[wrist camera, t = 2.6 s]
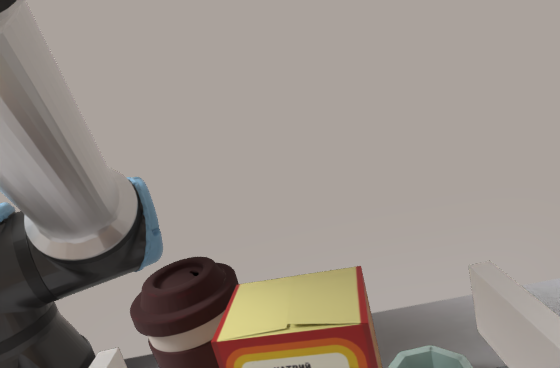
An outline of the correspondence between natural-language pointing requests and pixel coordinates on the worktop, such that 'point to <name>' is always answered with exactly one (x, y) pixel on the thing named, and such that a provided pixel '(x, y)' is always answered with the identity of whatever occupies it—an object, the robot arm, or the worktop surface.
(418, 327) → the worktop surface
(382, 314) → the worktop surface
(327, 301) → the baking soda box
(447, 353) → the bowl
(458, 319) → the worktop surface
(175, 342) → the coffee cup
